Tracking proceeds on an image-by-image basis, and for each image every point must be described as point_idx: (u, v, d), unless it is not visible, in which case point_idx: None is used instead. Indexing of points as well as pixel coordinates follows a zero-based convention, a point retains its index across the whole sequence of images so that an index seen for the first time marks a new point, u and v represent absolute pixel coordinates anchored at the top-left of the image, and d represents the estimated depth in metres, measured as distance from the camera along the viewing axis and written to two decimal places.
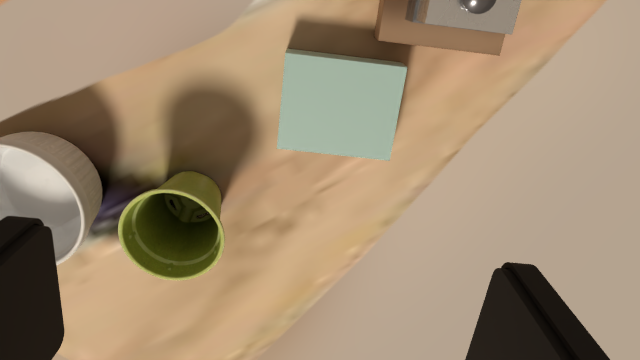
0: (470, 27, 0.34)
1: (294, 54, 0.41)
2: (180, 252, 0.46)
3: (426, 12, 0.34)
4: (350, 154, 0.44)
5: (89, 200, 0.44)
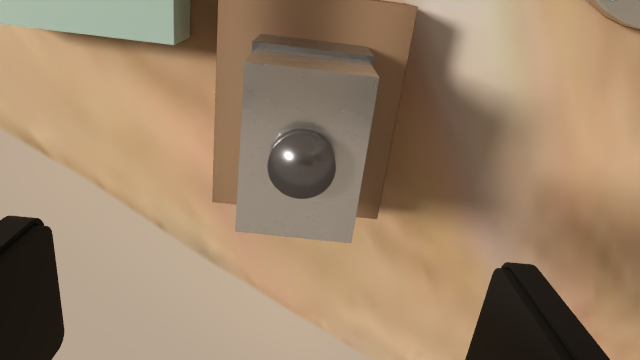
0: (242, 156, 0.17)
1: None
2: None
3: (267, 63, 0.16)
4: None
5: None
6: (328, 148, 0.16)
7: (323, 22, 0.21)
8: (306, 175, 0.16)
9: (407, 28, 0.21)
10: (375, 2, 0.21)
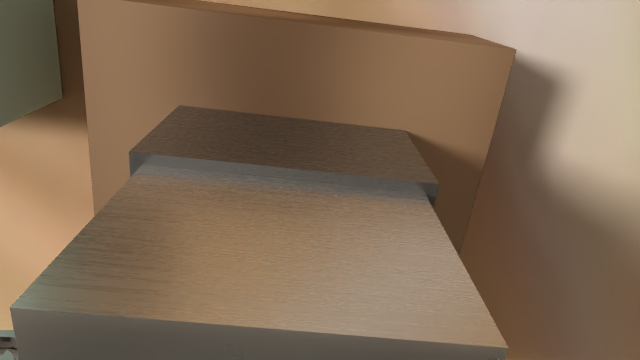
0: None
1: None
2: None
3: (106, 298, 0.04)
4: None
5: None
6: None
7: (313, 82, 0.10)
8: None
9: (491, 93, 0.10)
10: (425, 40, 0.10)
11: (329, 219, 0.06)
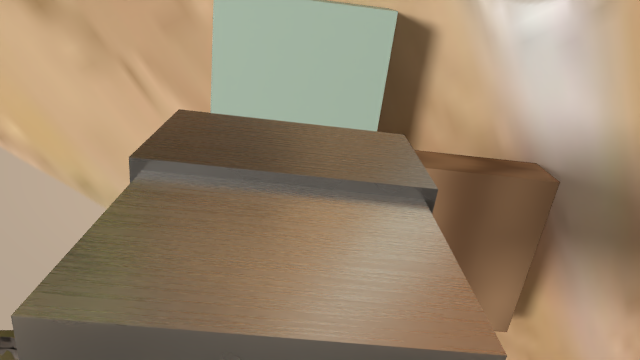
0: None
1: (393, 28, 0.23)
2: None
3: (106, 306, 0.04)
4: None
5: None
6: None
7: (484, 193, 0.27)
8: None
9: (549, 196, 0.27)
10: (527, 179, 0.26)
11: (329, 225, 0.06)
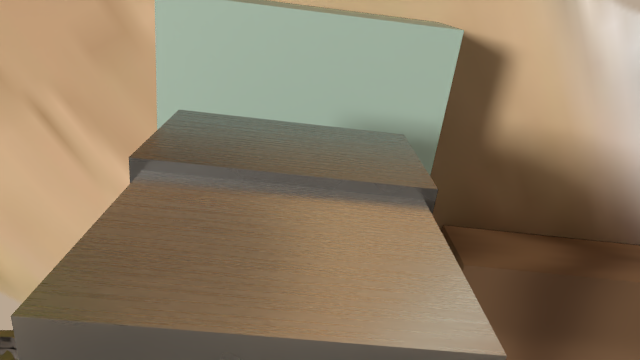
0: None
1: (454, 57, 0.14)
2: None
3: (106, 307, 0.04)
4: None
5: None
6: None
7: (580, 303, 0.17)
8: None
9: None
10: None
11: (328, 225, 0.06)
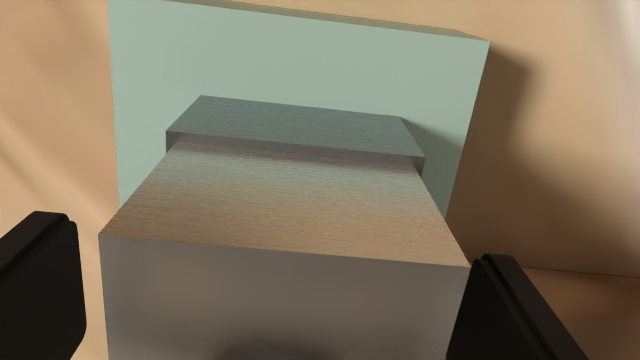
0: None
1: (478, 74, 0.11)
2: None
3: (166, 230, 0.06)
4: None
5: None
6: None
7: (618, 356, 0.15)
8: None
9: None
10: None
11: (333, 182, 0.08)
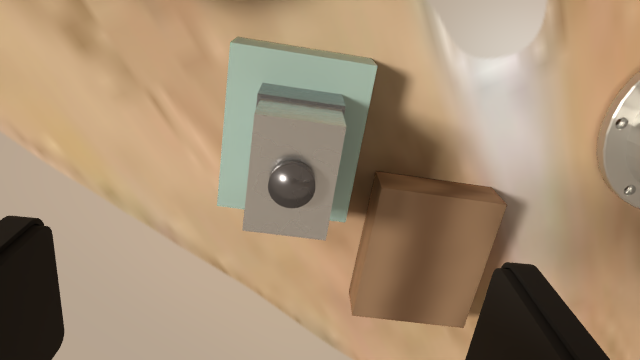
0: (250, 177, 0.24)
1: (373, 78, 0.29)
2: None
3: (269, 114, 0.23)
4: (224, 153, 0.30)
5: None
6: (310, 174, 0.23)
7: (445, 212, 0.32)
8: (294, 192, 0.23)
9: (498, 216, 0.33)
10: (480, 201, 0.32)
11: (313, 110, 0.25)
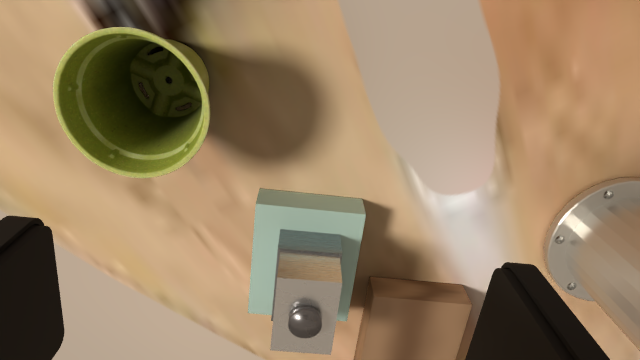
0: (275, 316, 0.33)
1: (363, 222, 0.38)
2: (93, 89, 0.31)
3: (287, 276, 0.32)
4: (252, 277, 0.40)
5: None
6: (318, 316, 0.33)
7: (424, 311, 0.42)
8: (307, 328, 0.33)
9: (466, 313, 0.42)
10: (451, 303, 0.41)
11: (318, 263, 0.34)
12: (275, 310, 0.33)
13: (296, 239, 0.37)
